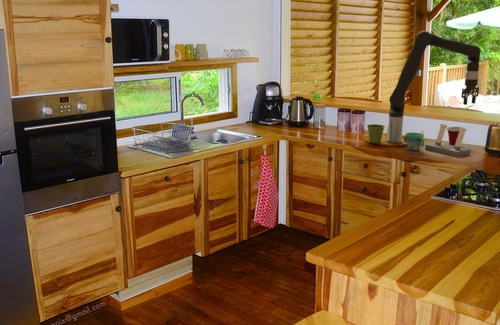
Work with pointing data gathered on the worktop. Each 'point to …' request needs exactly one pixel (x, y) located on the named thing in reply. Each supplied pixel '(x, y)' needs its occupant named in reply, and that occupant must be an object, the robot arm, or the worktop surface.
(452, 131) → the plastic cup
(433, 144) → the switch base
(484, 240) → the worktop surface
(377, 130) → the plant pot
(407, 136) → the snack cup
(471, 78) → the robot arm
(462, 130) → the outer lever
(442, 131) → the inner lever
